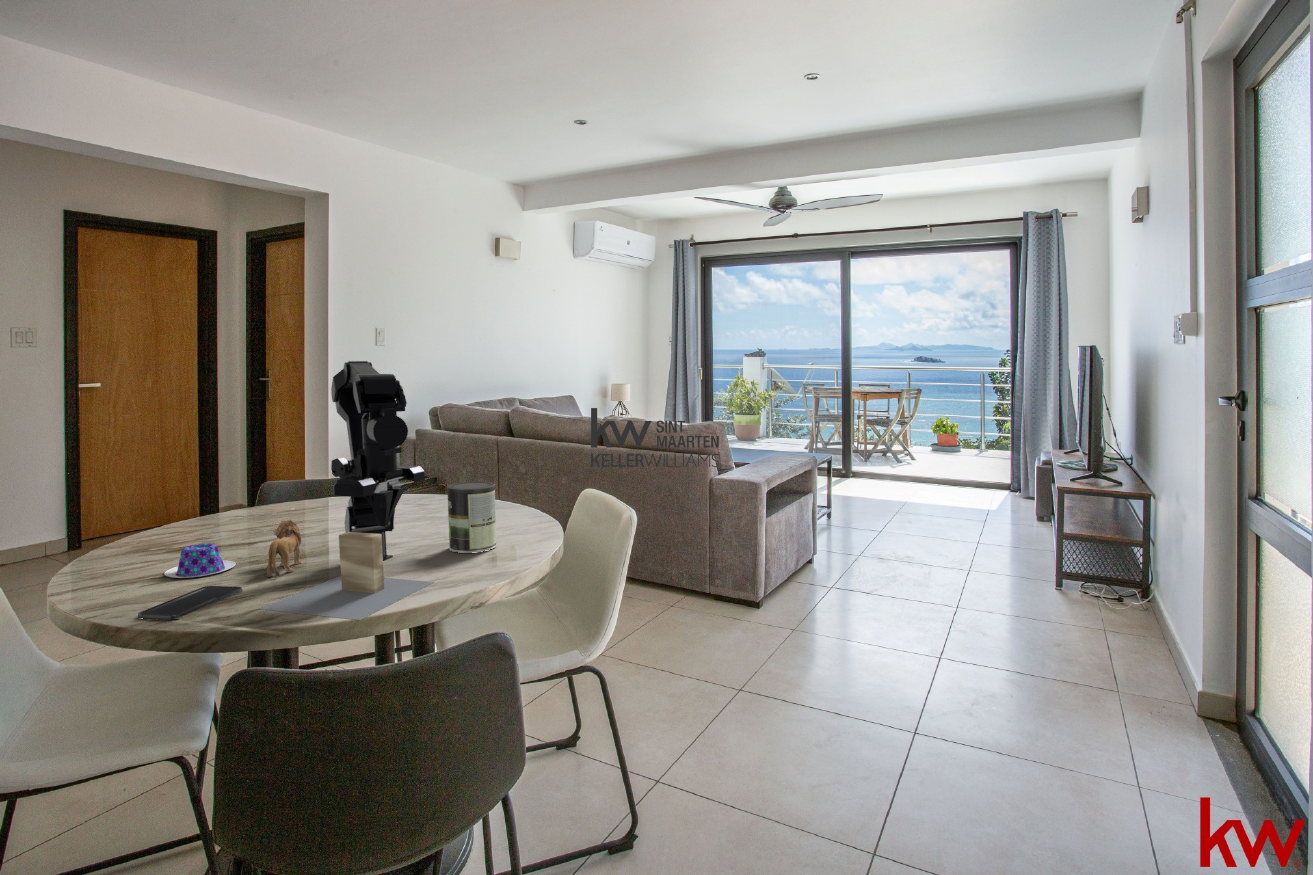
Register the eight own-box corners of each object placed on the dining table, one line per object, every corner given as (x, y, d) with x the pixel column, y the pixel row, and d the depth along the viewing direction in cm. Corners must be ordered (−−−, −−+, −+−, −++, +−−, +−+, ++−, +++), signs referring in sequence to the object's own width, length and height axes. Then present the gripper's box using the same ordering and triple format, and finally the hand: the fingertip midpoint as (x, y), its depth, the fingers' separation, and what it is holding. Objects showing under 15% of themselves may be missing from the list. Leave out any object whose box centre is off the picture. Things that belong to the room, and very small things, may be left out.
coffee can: (445, 555, 150) (442, 489, 148) (453, 543, 160) (451, 481, 158) (494, 553, 151) (492, 488, 149) (499, 541, 161) (497, 480, 159)
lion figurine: (276, 561, 146) (273, 518, 146) (304, 558, 148) (302, 516, 147) (263, 581, 133) (260, 534, 132) (295, 577, 135) (292, 531, 134)
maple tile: (351, 585, 128) (348, 531, 127) (384, 588, 126) (381, 533, 125) (341, 589, 125) (338, 535, 124) (375, 593, 123) (372, 537, 122)
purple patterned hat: (202, 582, 133) (200, 555, 133) (148, 579, 135) (146, 553, 135) (249, 564, 145) (248, 539, 144) (199, 562, 147) (197, 537, 146)
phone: (134, 614, 113) (206, 585, 128) (134, 621, 113) (206, 591, 128) (177, 616, 112) (245, 586, 127) (178, 623, 112) (245, 592, 127)
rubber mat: (344, 576, 135) (344, 574, 135) (434, 584, 129) (434, 582, 129) (258, 611, 116) (258, 608, 116) (360, 622, 110) (360, 619, 110)
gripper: (376, 436, 140) (380, 513, 142) (305, 447, 122) (310, 535, 124) (424, 437, 137) (428, 516, 139) (358, 449, 119) (363, 539, 121)
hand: (383, 526), depth 131 cm, fingers closed
